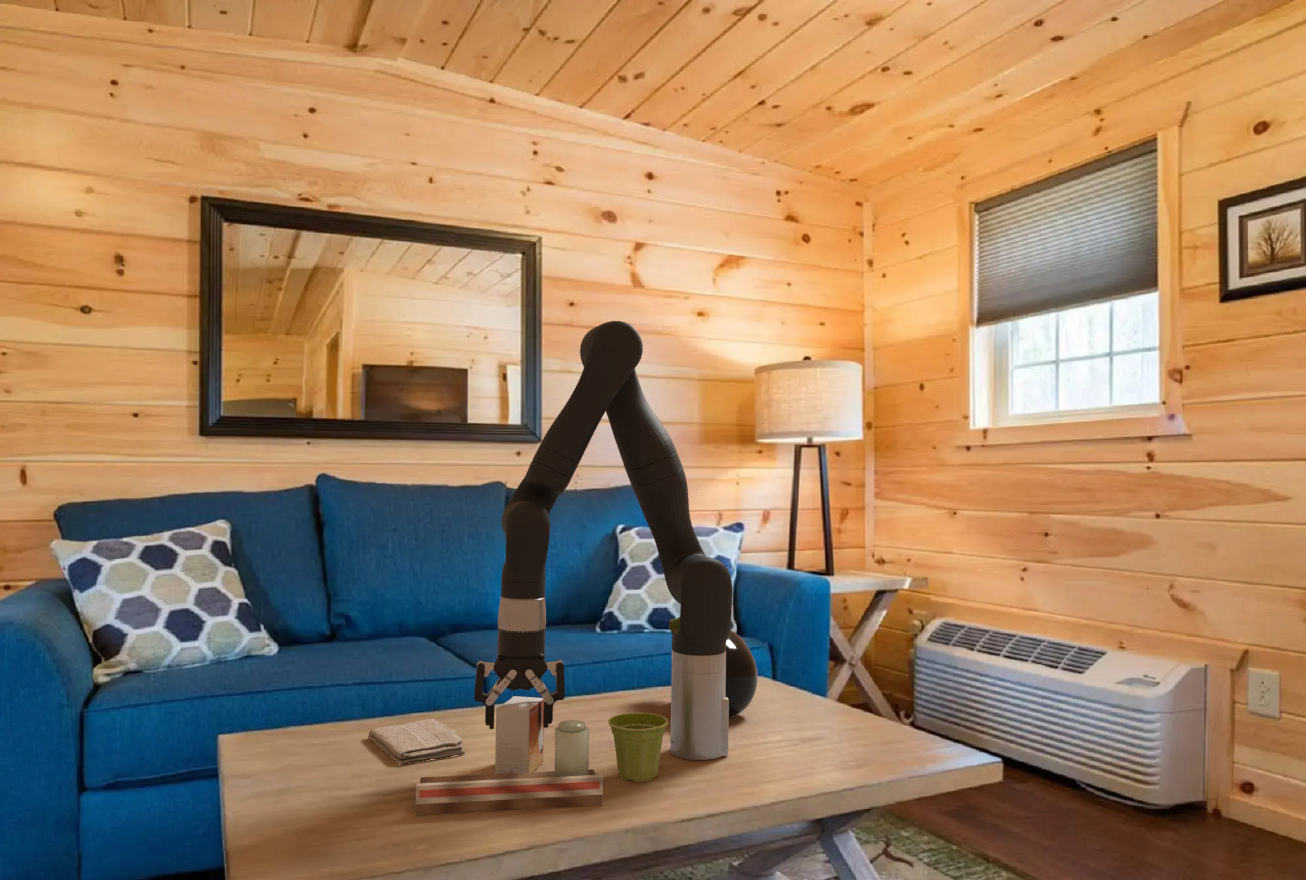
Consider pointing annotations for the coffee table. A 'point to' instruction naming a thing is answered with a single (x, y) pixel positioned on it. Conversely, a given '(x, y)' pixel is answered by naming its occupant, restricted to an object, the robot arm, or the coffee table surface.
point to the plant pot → (638, 744)
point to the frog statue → (735, 671)
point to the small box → (519, 735)
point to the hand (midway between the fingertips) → (518, 727)
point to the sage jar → (571, 749)
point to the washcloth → (417, 741)
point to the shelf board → (506, 792)
